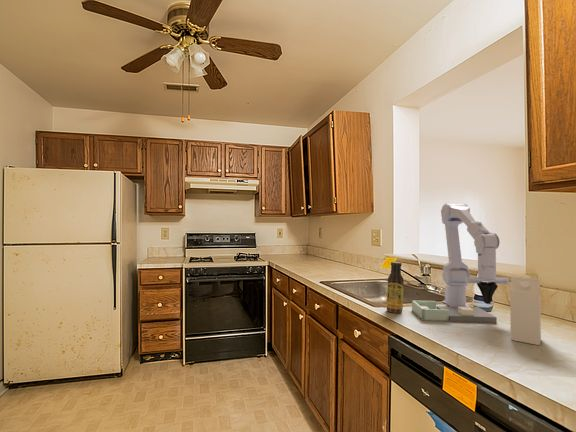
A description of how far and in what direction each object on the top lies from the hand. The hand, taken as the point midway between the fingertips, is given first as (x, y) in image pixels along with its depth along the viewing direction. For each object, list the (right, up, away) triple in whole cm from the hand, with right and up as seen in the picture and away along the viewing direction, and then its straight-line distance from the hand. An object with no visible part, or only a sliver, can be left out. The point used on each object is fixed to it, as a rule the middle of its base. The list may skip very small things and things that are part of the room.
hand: (487, 303), depth 121 cm
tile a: (-20, -4, +9) cm, 22 cm away
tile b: (-7, -4, +1) cm, 9 cm away
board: (-6, -6, +4) cm, 10 cm away
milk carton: (-1, -6, -21) cm, 21 cm away
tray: (-19, -6, +5) cm, 21 cm away
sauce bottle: (-31, -7, +11) cm, 33 cm away
